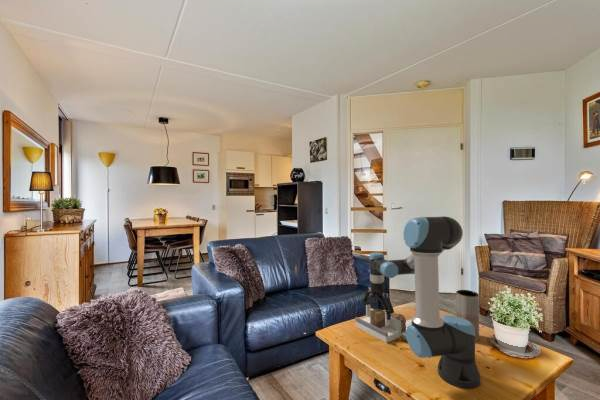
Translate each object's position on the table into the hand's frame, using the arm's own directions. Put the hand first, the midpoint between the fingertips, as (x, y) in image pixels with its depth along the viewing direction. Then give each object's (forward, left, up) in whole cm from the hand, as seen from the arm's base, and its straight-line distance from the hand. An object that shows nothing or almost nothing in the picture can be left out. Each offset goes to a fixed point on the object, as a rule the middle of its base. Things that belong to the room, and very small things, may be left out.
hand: (377, 320), depth 155 cm
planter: (-30, -34, -6) cm, 45 cm away
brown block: (0, 0, -3) cm, 3 cm away
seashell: (-3, -12, -6) cm, 14 cm away
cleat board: (0, 0, -6) cm, 6 cm away
